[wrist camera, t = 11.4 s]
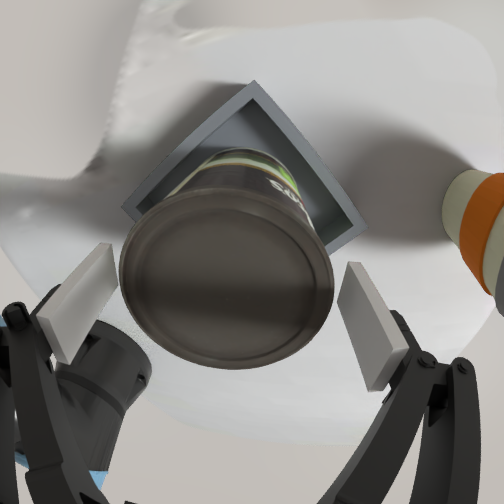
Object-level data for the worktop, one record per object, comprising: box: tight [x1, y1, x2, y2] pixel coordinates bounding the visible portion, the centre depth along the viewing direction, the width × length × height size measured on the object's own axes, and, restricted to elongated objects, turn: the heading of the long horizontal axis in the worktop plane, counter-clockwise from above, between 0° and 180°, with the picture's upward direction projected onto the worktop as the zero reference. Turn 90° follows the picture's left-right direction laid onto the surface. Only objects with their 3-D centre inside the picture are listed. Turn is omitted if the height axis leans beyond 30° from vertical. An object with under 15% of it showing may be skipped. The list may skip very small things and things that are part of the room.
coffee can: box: [119, 147, 334, 370], centre depth 19 cm, size 10×10×14 cm
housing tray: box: [121, 80, 369, 256], centre depth 24 cm, size 15×15×4 cm
